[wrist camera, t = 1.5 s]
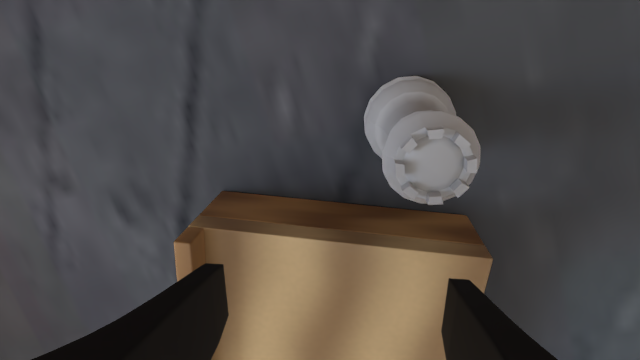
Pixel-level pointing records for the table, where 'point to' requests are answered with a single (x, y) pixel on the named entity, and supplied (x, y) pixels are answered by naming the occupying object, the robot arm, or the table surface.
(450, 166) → the rook chess piece
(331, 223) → the wooden tray
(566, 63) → the table surface
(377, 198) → the table surface
